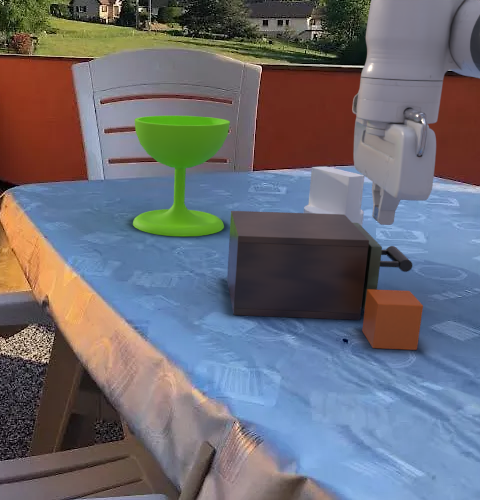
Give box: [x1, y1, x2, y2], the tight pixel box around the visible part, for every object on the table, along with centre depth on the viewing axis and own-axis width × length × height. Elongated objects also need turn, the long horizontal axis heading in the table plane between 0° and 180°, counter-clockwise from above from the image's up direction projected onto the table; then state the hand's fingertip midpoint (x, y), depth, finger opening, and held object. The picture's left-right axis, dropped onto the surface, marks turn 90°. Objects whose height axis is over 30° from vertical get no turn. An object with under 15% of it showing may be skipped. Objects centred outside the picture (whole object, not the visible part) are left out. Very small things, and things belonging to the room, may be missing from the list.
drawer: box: [353, 223, 413, 311], centre depth 87 cm, size 18×11×8 cm, turn 86°
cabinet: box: [226, 210, 369, 321], centre depth 87 cm, size 15×13×10 cm
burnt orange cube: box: [361, 289, 424, 351], centre depth 76 cm, size 5×5×5 cm
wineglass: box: [132, 115, 231, 237], centre depth 121 cm, size 16×16×18 cm
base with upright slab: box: [303, 166, 365, 227], centre depth 110 cm, size 9×9×12 cm
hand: (382, 222), depth 85 cm, fingers closed
